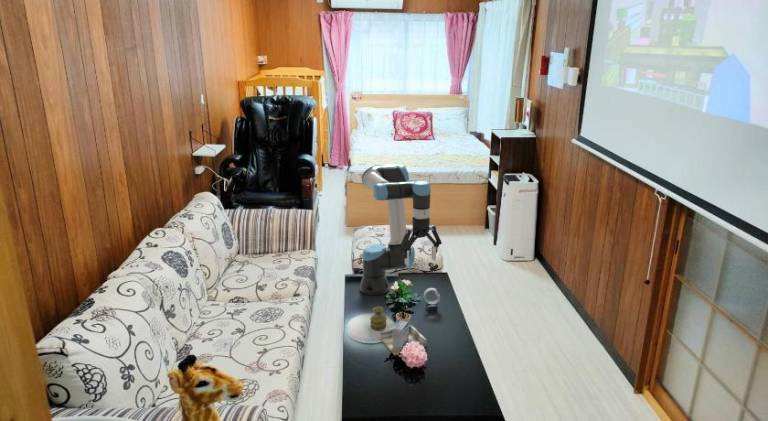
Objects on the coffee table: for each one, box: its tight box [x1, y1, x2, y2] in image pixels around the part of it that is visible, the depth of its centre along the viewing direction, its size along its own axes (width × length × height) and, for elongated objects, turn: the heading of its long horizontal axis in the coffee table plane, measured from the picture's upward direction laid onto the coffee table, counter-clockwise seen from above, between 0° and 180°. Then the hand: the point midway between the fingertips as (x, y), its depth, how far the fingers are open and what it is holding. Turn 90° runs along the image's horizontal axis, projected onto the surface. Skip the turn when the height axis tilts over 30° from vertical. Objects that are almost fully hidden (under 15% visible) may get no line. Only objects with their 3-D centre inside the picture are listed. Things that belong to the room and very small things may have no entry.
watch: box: [423, 287, 441, 314], centre depth 251 cm, size 6×8×11 cm
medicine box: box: [392, 320, 410, 348], centre depth 221 cm, size 8×4×9 cm, turn 157°
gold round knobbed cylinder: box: [369, 305, 388, 332], centre depth 235 cm, size 7×7×10 cm
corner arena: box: [379, 324, 428, 356], centre depth 223 cm, size 14×15×4 cm
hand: (420, 262), depth 235 cm, fingers open, 13 cm apart
